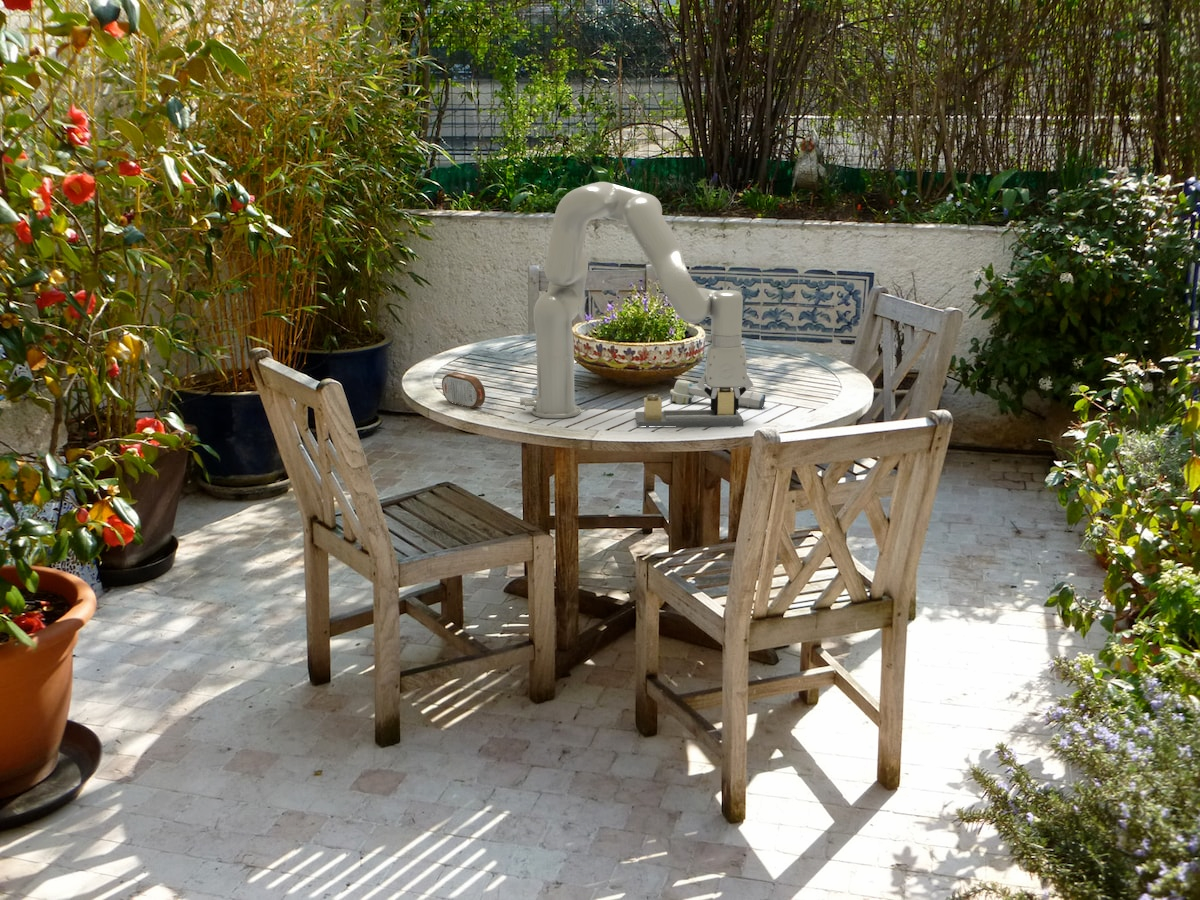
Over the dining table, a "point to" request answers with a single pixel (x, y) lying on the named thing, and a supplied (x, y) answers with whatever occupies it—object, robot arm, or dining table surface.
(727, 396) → the block
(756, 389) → the dining table surface
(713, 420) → the bolt plate
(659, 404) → the fixed leg
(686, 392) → the grey flashlight
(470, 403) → the tin
